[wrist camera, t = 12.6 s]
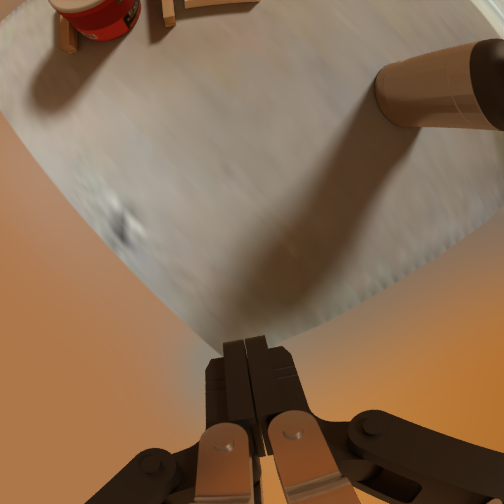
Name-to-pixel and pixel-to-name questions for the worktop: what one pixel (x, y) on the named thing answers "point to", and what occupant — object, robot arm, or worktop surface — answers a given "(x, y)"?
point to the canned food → (99, 16)
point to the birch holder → (70, 32)
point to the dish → (212, 2)
